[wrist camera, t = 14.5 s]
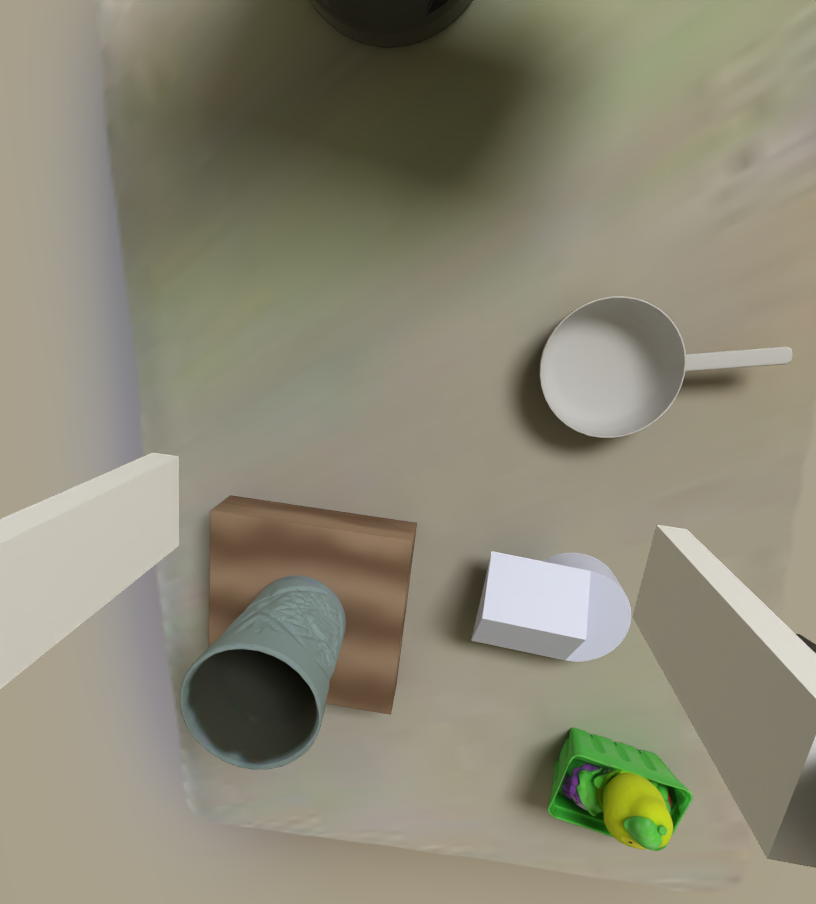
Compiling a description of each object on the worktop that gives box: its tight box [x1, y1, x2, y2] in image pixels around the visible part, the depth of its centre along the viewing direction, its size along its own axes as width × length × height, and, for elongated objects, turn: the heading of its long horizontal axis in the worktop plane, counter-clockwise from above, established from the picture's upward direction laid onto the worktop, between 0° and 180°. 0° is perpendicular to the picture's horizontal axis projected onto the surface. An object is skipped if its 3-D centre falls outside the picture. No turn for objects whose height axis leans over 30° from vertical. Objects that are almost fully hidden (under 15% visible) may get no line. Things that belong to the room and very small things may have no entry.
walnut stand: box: [209, 496, 417, 715], centre depth 49 cm, size 18×18×4 cm
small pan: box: [539, 296, 792, 438], centre depth 41 cm, size 11×18×4 cm, turn 95°
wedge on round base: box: [471, 551, 631, 662], centre depth 45 cm, size 9×7×13 cm
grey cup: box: [180, 575, 346, 769], centre depth 42 cm, size 10×10×12 cm
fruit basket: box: [548, 728, 693, 851], centre depth 47 cm, size 11×9×11 cm
